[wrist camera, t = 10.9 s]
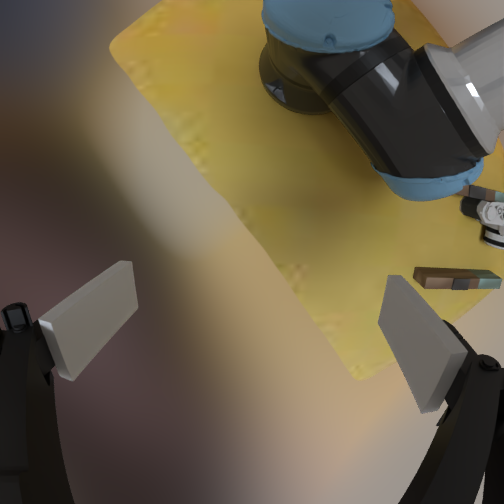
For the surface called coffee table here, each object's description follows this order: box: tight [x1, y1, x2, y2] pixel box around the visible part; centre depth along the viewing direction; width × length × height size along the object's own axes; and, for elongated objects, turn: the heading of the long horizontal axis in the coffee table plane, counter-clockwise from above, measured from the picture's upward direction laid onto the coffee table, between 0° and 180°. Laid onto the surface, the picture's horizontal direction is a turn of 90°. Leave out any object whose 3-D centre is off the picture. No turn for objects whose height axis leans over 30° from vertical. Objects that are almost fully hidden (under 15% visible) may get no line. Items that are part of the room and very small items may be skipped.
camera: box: [460, 196, 504, 250], centre depth 35 cm, size 16×9×10 cm, turn 89°
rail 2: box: [413, 267, 502, 290], centre depth 41 cm, size 2×20×5 cm, turn 88°
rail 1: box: [455, 185, 504, 202], centre depth 36 cm, size 2×20×5 cm, turn 88°
